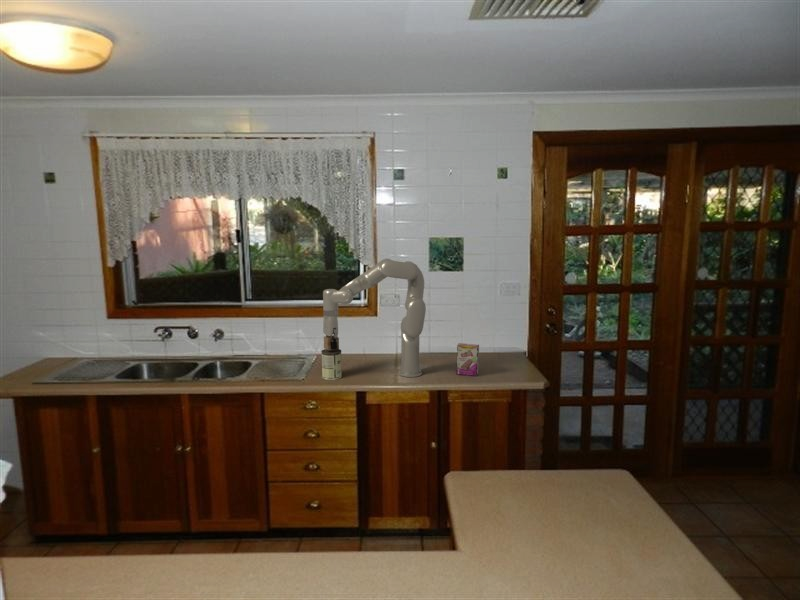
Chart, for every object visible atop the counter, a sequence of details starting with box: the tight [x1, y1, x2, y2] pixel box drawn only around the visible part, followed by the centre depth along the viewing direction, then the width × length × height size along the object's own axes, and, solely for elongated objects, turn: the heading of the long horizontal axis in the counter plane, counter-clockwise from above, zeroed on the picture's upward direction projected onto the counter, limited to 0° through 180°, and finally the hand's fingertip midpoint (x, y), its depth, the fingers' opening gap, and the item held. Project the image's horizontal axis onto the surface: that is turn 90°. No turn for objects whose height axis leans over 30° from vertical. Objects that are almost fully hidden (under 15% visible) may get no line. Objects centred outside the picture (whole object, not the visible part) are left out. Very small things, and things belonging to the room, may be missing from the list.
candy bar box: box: [455, 342, 480, 377], centre depth 270 cm, size 11×5×16 cm, turn 74°
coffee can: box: [321, 348, 343, 381], centre depth 265 cm, size 10×10×14 cm
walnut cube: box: [323, 335, 340, 350], centre depth 263 cm, size 6×6×6 cm
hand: (331, 347), depth 264 cm, fingers closed on walnut cube, 5 cm apart
